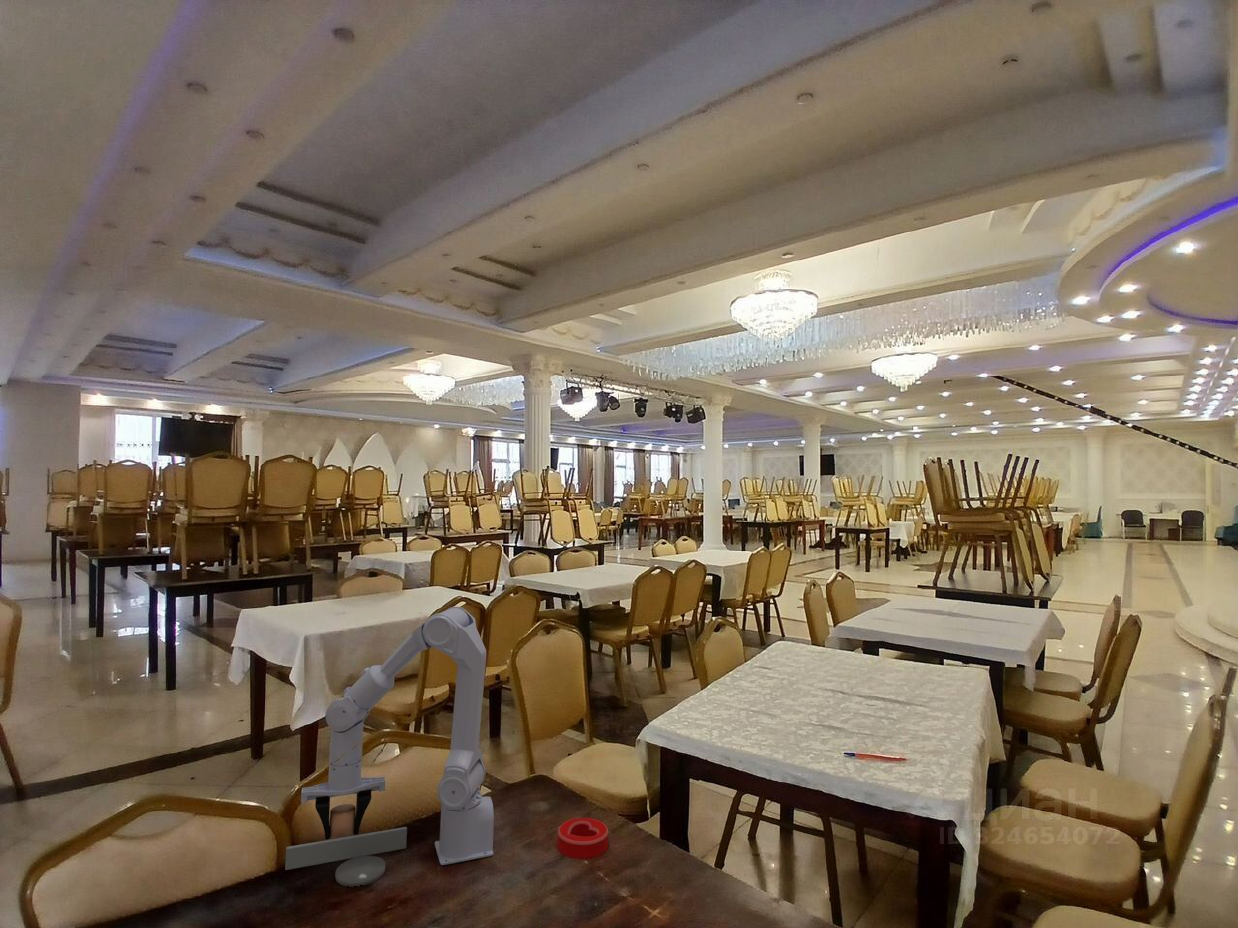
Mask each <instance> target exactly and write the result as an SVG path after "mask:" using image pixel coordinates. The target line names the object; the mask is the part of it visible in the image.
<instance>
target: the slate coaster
mask: <svg viewBox="0 0 1238 928" xmlns="http://www.w3.org/2000/svg"><path fill="white" fill-rule="evenodd" d="M385 872H386V861H385V860H384V859H383V858H381V857H379V856H376V855H366V856H361V857H355V858H350V859H347V860H346V861H344V862H342V863H341V864H340V865H339V866H338V867H337V868H336V870H335V875H334V876H335V877H334V878H335V882H336V883H337V884H338V885H340V886H343V887H347V886H349V887H350V888H355V887H354V886H357V887H361V886H360V885H363V886H367V885H369V884H372V883H374V882H376V881H378V880H380V878H382V876H384V874H385ZM349 887H348V888H349Z"/></svg>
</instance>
